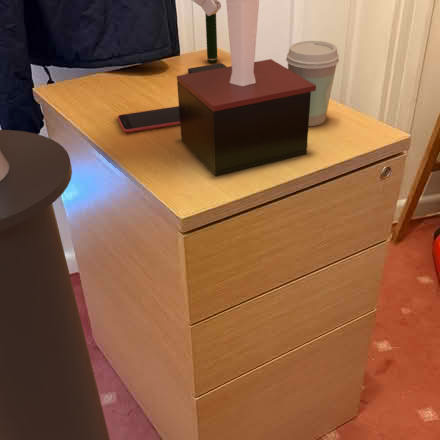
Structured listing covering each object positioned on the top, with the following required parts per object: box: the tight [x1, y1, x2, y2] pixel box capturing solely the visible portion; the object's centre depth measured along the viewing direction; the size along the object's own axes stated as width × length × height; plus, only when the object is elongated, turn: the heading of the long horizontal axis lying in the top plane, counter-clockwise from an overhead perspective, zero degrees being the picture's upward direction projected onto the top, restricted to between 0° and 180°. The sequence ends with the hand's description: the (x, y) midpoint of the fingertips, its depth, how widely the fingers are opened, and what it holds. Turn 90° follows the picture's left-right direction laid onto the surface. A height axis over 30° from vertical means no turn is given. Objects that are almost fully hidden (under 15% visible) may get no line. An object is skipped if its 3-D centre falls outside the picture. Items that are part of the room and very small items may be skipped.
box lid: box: [176, 58, 316, 112], centre depth 86 cm, size 16×14×1 cm
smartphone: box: [117, 105, 180, 133], centre depth 102 cm, size 7×1×14 cm
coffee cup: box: [285, 40, 340, 127], centre depth 97 cm, size 8×9×12 cm
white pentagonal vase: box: [225, 0, 260, 86], centre depth 81 cm, size 5×4×15 cm
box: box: [176, 81, 311, 177], centre depth 90 cm, size 16×14×10 cm
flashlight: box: [204, 12, 218, 64], centre depth 119 cm, size 5×5×20 cm
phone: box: [187, 62, 228, 74], centre depth 115 cm, size 8×1×15 cm
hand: (235, 4), depth 79 cm, fingers open, 8 cm apart
